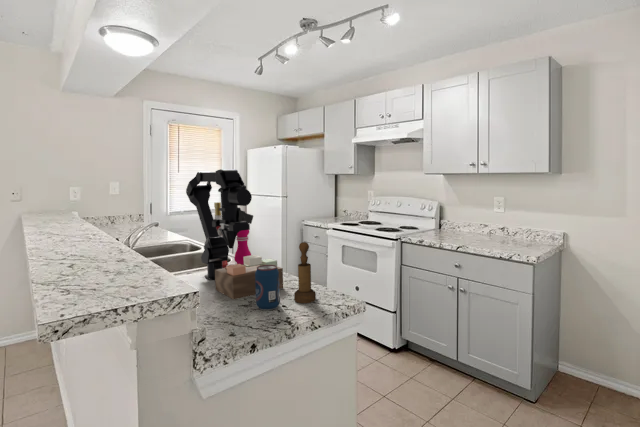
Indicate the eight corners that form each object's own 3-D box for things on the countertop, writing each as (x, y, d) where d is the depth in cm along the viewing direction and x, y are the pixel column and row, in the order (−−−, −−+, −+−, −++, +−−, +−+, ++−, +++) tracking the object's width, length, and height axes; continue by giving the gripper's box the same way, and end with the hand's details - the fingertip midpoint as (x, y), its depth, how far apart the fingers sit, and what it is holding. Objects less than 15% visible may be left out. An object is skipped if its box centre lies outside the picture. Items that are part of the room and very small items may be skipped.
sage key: (259, 267, 128) (259, 260, 128) (270, 265, 131) (270, 258, 131) (266, 269, 125) (266, 262, 125) (277, 267, 128) (277, 260, 127)
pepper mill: (248, 270, 153) (246, 222, 151) (231, 270, 155) (229, 222, 153) (254, 266, 160) (253, 220, 158) (239, 266, 162) (237, 220, 160)
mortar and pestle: (299, 304, 110) (298, 245, 109) (291, 298, 116) (289, 241, 114) (319, 301, 113) (318, 242, 112) (310, 295, 119) (308, 239, 117)
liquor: (215, 270, 154) (212, 203, 152) (208, 267, 160) (205, 202, 157) (231, 267, 159) (229, 202, 156) (224, 264, 165) (221, 201, 162)
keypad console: (215, 289, 127) (214, 268, 126) (262, 280, 138) (262, 260, 138) (233, 299, 116) (232, 276, 115) (283, 288, 127) (282, 267, 127)
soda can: (252, 305, 110) (251, 266, 109) (274, 301, 114) (273, 263, 112) (261, 312, 104) (259, 271, 103) (283, 308, 107) (282, 267, 106)
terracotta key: (227, 273, 121) (226, 265, 121) (239, 270, 124) (239, 263, 123) (233, 275, 117) (232, 268, 117) (245, 273, 120) (245, 266, 120)
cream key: (243, 263, 124) (243, 256, 124) (255, 261, 127) (255, 254, 127) (250, 266, 121) (249, 258, 121) (261, 263, 124) (261, 256, 123)
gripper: (262, 204, 129) (264, 248, 131) (238, 202, 144) (239, 242, 145) (232, 206, 122) (234, 253, 124) (210, 204, 137) (212, 246, 138)
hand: (231, 248), depth 133 cm, fingers closed
